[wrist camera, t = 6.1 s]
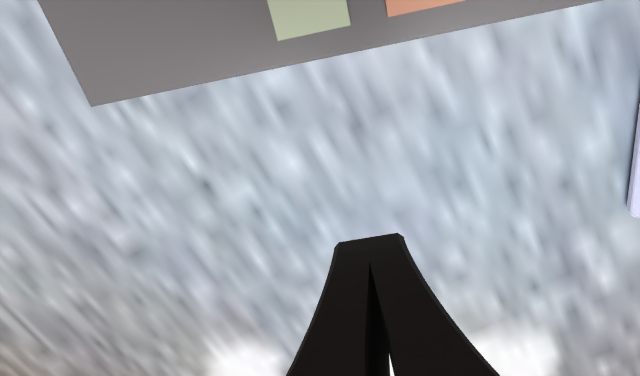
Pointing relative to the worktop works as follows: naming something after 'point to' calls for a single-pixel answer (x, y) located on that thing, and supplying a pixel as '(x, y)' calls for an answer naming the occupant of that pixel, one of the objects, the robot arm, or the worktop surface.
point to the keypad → (244, 35)
